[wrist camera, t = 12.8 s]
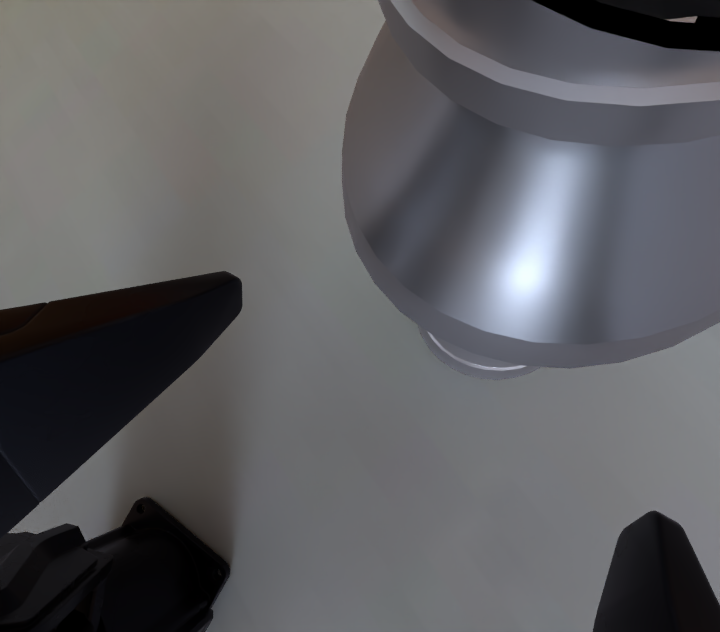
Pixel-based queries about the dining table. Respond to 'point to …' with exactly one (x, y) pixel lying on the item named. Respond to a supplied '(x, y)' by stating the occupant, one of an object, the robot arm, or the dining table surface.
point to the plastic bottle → (540, 177)
